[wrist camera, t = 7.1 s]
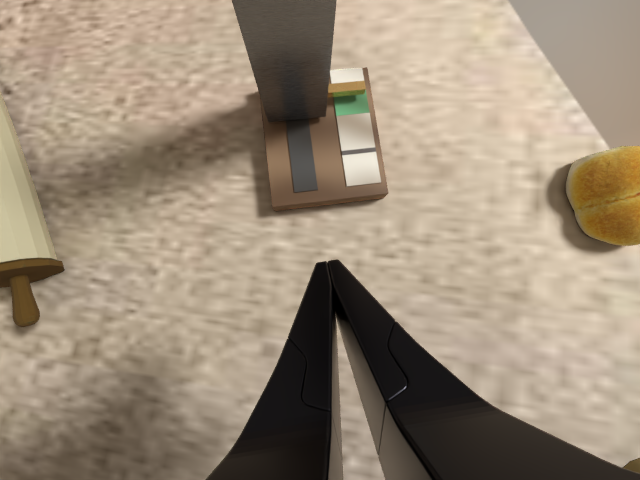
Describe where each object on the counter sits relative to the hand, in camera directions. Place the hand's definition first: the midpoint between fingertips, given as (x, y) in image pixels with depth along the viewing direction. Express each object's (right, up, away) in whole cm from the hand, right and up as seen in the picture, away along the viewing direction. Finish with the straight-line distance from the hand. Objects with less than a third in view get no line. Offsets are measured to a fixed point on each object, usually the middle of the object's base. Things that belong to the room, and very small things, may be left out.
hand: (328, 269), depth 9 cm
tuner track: (0, +10, +14) cm, 17 cm away
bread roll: (+27, +5, +15) cm, 31 cm away
